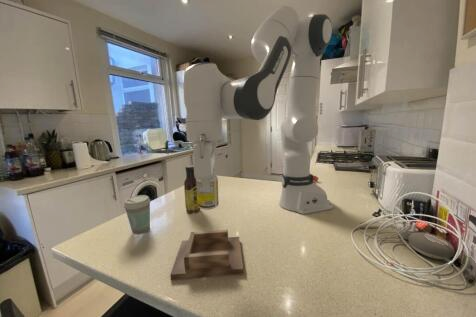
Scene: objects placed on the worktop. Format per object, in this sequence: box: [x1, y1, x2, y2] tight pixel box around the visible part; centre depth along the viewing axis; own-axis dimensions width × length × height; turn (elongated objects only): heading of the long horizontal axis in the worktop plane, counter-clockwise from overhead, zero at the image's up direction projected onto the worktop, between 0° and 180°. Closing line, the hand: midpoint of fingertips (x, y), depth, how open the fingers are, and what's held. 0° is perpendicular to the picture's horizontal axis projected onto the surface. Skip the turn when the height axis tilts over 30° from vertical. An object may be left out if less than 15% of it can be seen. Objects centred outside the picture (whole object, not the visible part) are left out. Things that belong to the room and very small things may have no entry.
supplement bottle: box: [196, 167, 220, 211], centre depth 53 cm, size 6×6×10 cm
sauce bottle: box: [183, 164, 201, 215], centre depth 85 cm, size 7×6×20 cm
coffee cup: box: [123, 194, 151, 235], centre depth 72 cm, size 8×9×12 cm
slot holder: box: [169, 229, 244, 281], centre depth 56 cm, size 18×14×5 cm
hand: (207, 186), depth 53 cm, fingers closed on supplement bottle, 6 cm apart
